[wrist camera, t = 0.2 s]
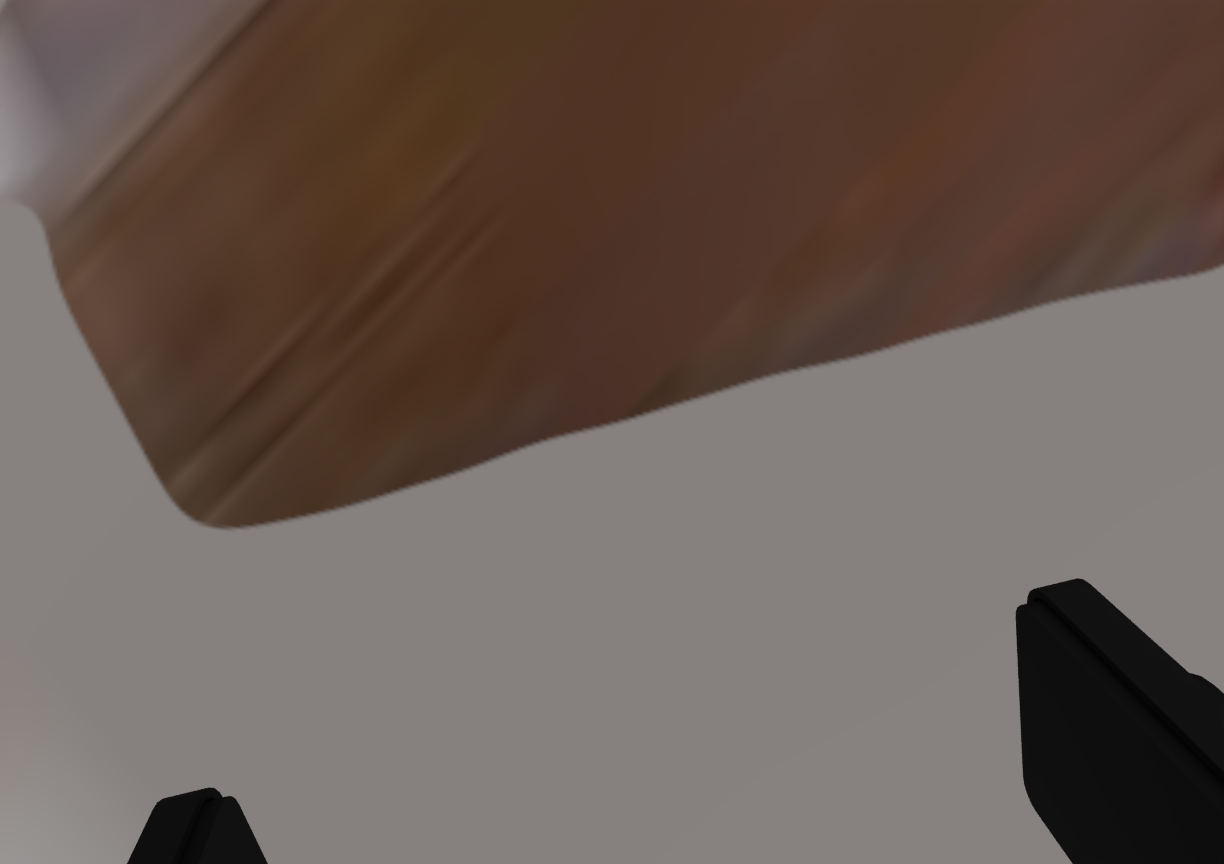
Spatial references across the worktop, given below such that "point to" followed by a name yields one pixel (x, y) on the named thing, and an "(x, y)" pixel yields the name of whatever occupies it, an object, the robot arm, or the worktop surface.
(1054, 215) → the worktop surface
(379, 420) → the worktop surface
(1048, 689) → the robot arm
